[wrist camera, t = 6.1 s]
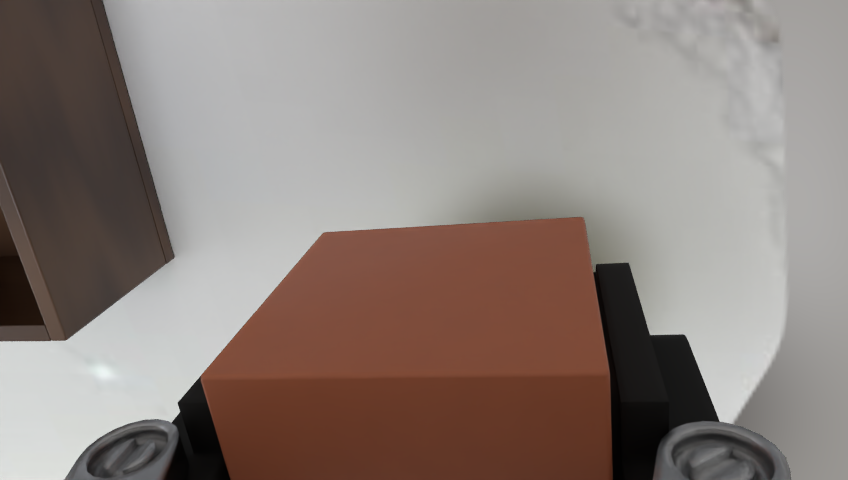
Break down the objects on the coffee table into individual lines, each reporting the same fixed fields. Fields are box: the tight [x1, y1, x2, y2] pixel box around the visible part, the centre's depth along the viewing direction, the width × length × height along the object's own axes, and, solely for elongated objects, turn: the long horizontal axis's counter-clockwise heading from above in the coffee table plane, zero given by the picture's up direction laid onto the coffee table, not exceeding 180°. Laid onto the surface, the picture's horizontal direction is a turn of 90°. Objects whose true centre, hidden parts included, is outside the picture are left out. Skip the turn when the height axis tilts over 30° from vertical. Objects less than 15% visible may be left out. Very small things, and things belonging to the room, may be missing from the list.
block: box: [201, 217, 613, 480], centre depth 10 cm, size 5×5×5 cm
